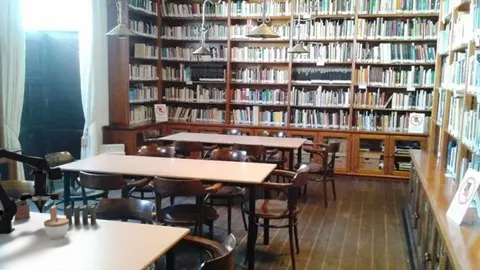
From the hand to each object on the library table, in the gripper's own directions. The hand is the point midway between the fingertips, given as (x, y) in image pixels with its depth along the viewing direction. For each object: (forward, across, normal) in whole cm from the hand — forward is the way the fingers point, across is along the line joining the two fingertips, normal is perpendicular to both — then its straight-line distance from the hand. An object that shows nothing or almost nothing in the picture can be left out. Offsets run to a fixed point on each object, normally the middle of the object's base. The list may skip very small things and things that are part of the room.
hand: (41, 213), depth 227 cm
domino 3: (+6, -17, 0) cm, 18 cm away
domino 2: (+6, -13, 0) cm, 15 cm away
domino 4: (+6, -21, 0) cm, 22 cm away
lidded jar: (+6, -13, +21) cm, 26 cm away
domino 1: (+6, -6, 0) cm, 8 cm away
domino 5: (+6, -25, 0) cm, 26 cm away
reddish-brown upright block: (+6, +14, -12) cm, 19 cm away
